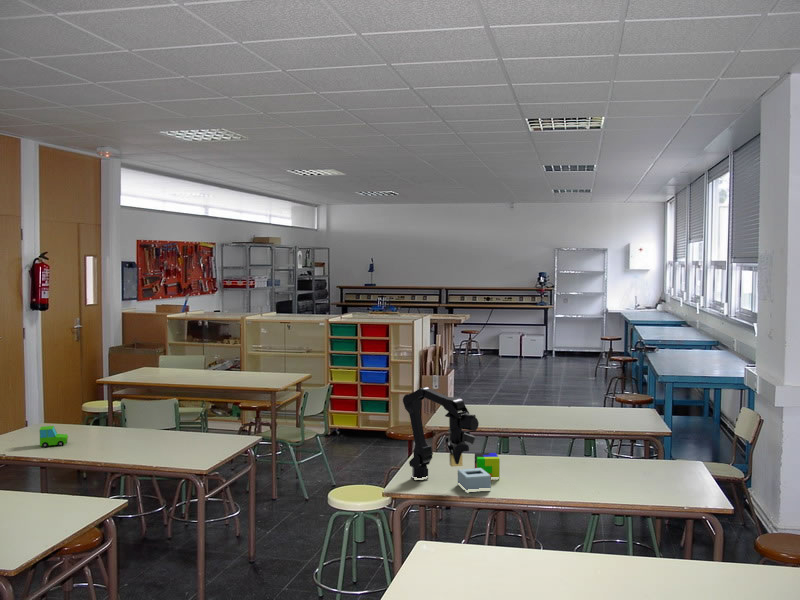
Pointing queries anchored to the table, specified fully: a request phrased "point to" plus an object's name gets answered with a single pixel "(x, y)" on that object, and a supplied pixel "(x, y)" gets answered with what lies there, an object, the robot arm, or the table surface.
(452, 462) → the token
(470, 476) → the money box
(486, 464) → the puzzle toy
